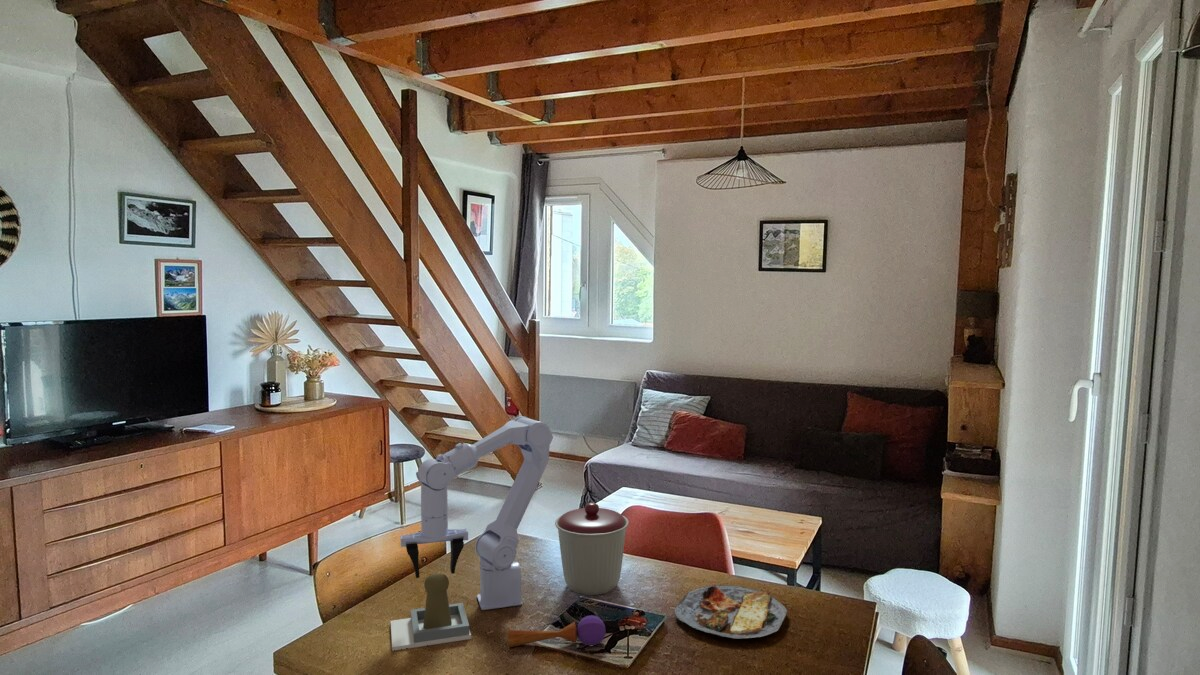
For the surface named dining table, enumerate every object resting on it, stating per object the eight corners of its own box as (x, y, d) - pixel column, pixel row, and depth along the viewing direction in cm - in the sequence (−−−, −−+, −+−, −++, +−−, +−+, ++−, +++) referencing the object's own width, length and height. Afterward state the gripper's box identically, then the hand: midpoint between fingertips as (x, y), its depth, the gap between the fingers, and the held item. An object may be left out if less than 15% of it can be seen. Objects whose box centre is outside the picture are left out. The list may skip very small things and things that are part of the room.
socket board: (464, 613, 163) (463, 601, 163) (471, 638, 152) (470, 626, 151) (390, 624, 158) (390, 612, 158) (392, 650, 147) (391, 637, 147)
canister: (544, 580, 181) (543, 498, 180) (607, 566, 190) (607, 488, 188) (574, 608, 165) (573, 519, 164) (642, 593, 174) (642, 508, 172)
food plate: (699, 585, 178) (699, 571, 177) (794, 604, 167) (795, 590, 167) (662, 632, 155) (662, 617, 155) (770, 658, 145) (770, 641, 145)
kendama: (509, 619, 152) (603, 610, 153) (511, 649, 151) (606, 639, 152) (506, 628, 146) (604, 618, 147) (509, 658, 146) (607, 648, 146)
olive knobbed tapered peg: (448, 631, 153) (447, 581, 152) (419, 631, 153) (418, 581, 152) (454, 618, 159) (453, 570, 158) (427, 618, 159) (426, 570, 158)
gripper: (464, 505, 165) (465, 563, 166) (399, 511, 160) (400, 571, 161) (469, 515, 158) (469, 575, 159) (401, 521, 154) (402, 583, 154)
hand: (435, 574), depth 160 cm, fingers open, 7 cm apart
